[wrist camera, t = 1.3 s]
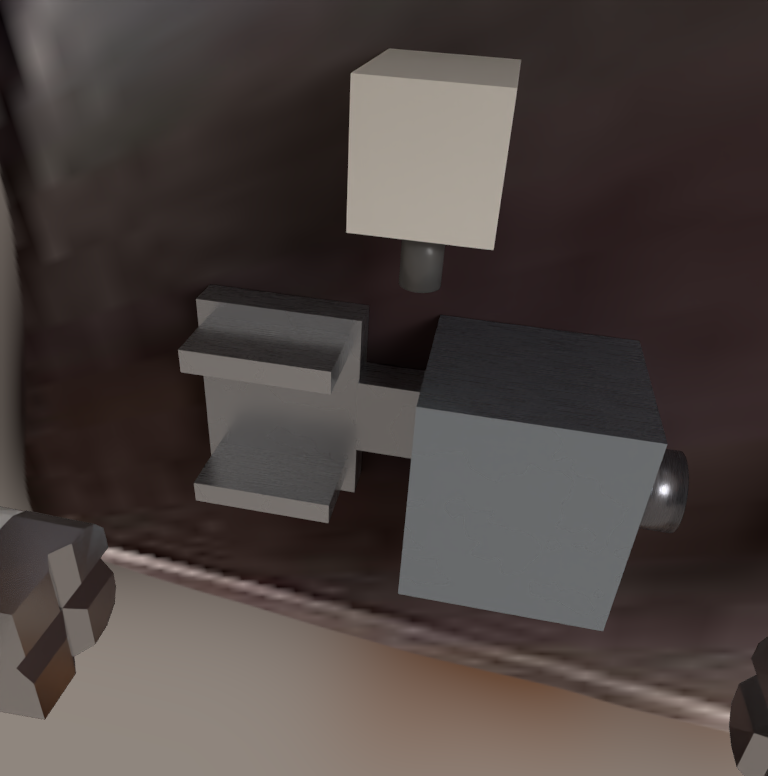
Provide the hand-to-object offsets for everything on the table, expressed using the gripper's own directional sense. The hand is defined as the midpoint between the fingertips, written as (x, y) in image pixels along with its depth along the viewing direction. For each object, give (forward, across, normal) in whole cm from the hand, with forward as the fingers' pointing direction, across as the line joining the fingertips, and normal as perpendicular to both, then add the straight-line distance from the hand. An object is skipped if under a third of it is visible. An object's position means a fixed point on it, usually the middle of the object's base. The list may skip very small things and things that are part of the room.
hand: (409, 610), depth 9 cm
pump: (+20, +2, -3) cm, 20 cm away
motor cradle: (+20, +1, +9) cm, 23 cm away
